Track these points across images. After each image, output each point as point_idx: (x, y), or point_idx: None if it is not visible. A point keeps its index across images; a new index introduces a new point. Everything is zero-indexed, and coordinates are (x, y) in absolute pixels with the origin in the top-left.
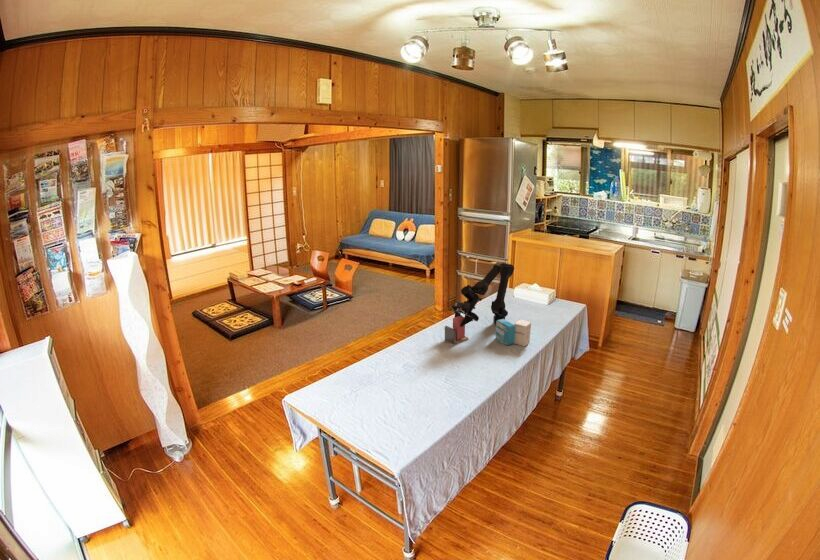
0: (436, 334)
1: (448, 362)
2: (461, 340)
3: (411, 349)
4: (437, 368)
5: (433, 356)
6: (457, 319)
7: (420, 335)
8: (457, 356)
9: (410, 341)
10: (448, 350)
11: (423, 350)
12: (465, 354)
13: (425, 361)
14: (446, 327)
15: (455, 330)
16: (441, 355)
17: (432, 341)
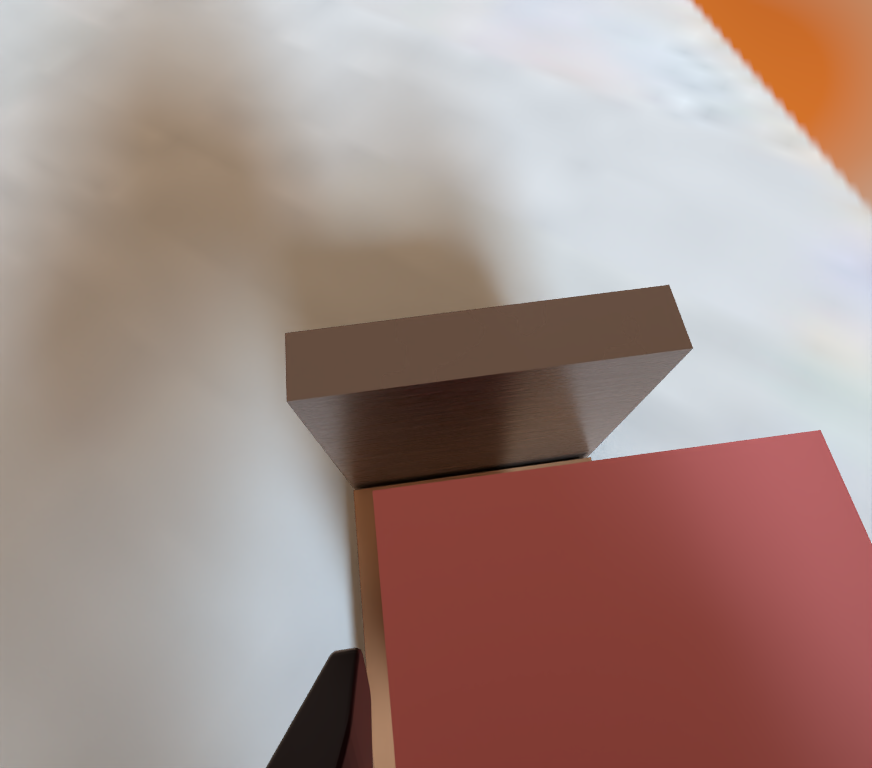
0: (828, 427)
1: (56, 174)
2: (364, 636)
3: (532, 34)
4: (60, 57)
5: (270, 121)
6: (479, 568)
7: (856, 230)
8: (72, 317)
9: (719, 87)
10: (274, 309)
11: (448, 102)
12: (23, 435)
13: (240, 35)
14: (594, 297)
15: (287, 387)
16: (230, 188)
17: (615, 270)
